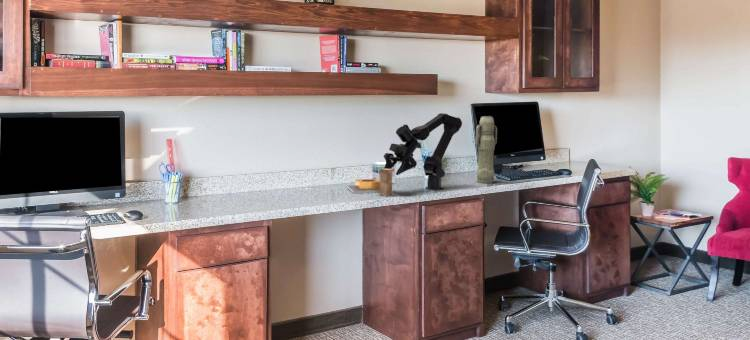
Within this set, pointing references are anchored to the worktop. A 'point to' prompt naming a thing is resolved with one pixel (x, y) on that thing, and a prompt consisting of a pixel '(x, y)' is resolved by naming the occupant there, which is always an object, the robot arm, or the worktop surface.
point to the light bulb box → (377, 170)
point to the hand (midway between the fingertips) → (390, 173)
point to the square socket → (365, 186)
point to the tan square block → (386, 181)
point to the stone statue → (486, 149)
